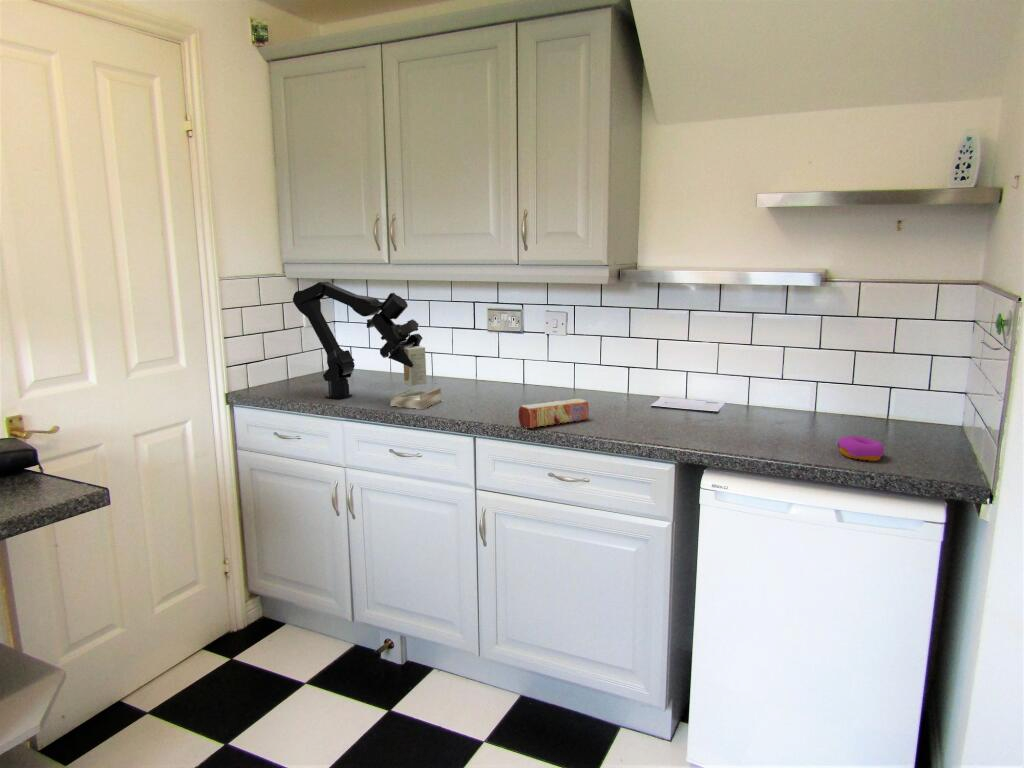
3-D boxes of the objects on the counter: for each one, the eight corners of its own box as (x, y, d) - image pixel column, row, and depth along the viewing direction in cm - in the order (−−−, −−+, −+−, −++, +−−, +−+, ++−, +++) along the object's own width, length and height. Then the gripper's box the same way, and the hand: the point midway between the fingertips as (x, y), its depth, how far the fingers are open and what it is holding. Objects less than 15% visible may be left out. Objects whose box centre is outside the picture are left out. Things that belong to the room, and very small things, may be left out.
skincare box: (420, 382, 231) (419, 345, 228) (427, 384, 227) (426, 347, 225) (403, 384, 227) (402, 347, 225) (409, 386, 224) (408, 348, 221)
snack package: (577, 416, 211) (577, 394, 210) (590, 421, 206) (591, 399, 204) (517, 426, 201) (517, 403, 200) (529, 431, 195) (529, 408, 194)
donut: (885, 465, 164) (887, 446, 163) (837, 460, 168) (839, 442, 167) (880, 452, 174) (882, 435, 173) (835, 448, 177) (837, 431, 176)
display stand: (390, 406, 225) (390, 392, 224) (409, 398, 236) (408, 385, 235) (423, 409, 221) (422, 395, 220) (440, 401, 232) (440, 388, 231)
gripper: (386, 315, 215) (419, 352, 214) (416, 309, 232) (446, 344, 231) (366, 338, 220) (397, 375, 218) (396, 331, 237) (426, 365, 235)
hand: (418, 364), depth 225 cm, fingers closed on skincare box, 7 cm apart
